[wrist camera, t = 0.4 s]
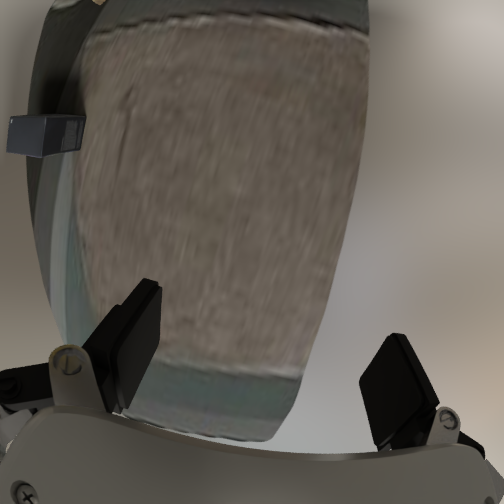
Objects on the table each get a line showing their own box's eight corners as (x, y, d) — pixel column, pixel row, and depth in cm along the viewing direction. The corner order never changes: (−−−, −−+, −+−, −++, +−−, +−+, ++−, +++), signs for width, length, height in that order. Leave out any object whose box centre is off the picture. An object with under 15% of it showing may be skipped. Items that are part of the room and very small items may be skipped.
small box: (43, 146, 37) (4, 154, 27) (48, 113, 34) (9, 114, 24) (80, 152, 37) (39, 160, 27) (87, 115, 35) (46, 114, 25)
